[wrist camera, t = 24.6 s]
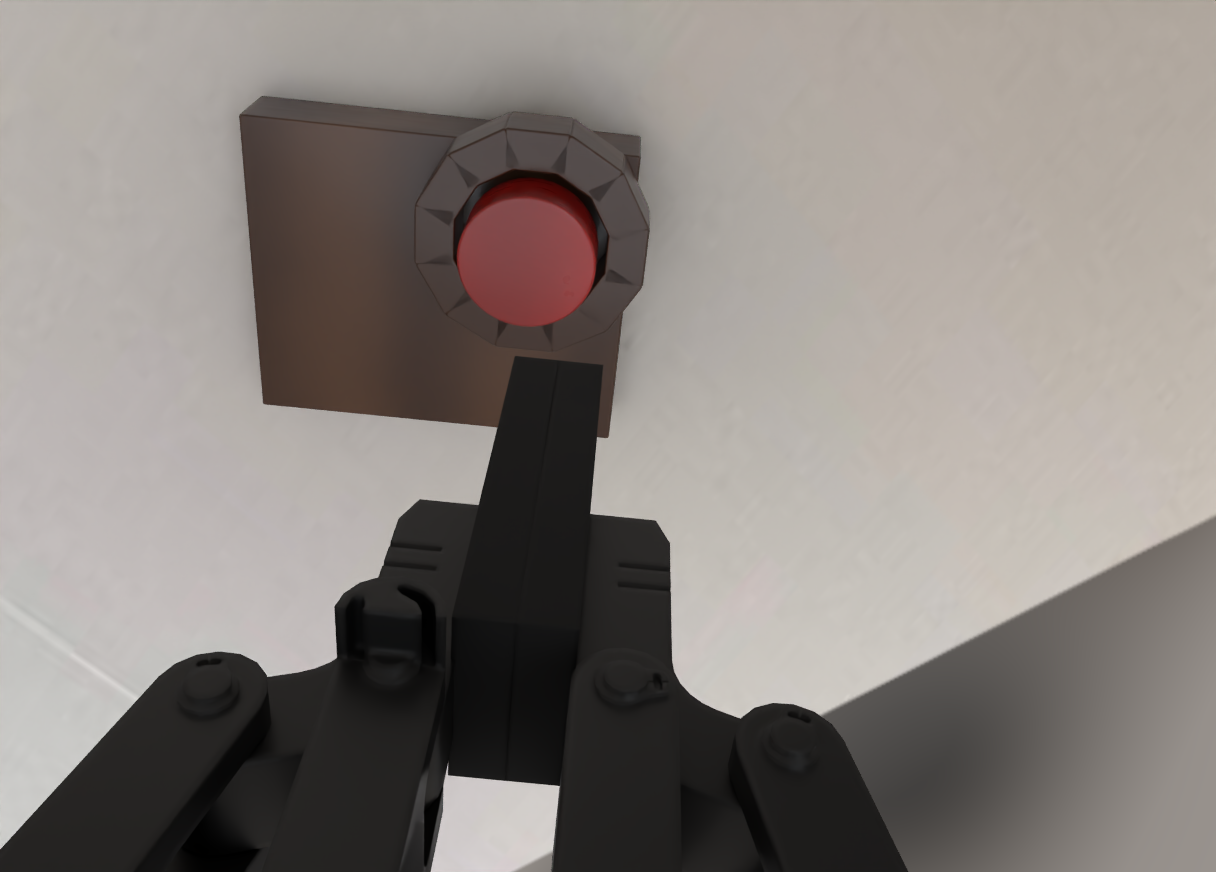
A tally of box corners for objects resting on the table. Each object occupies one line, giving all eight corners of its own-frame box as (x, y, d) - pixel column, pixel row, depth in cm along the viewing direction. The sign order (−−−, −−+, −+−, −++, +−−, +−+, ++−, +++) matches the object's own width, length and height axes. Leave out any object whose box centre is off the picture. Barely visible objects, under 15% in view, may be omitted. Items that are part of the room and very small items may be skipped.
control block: (658, 106, 33) (660, 144, 30) (622, 408, 39) (620, 468, 36) (258, 64, 33) (214, 97, 30) (281, 374, 39) (245, 431, 35)
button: (604, 184, 31) (602, 204, 30) (592, 309, 33) (589, 334, 32) (466, 169, 31) (457, 189, 30) (463, 296, 33) (454, 320, 32)
